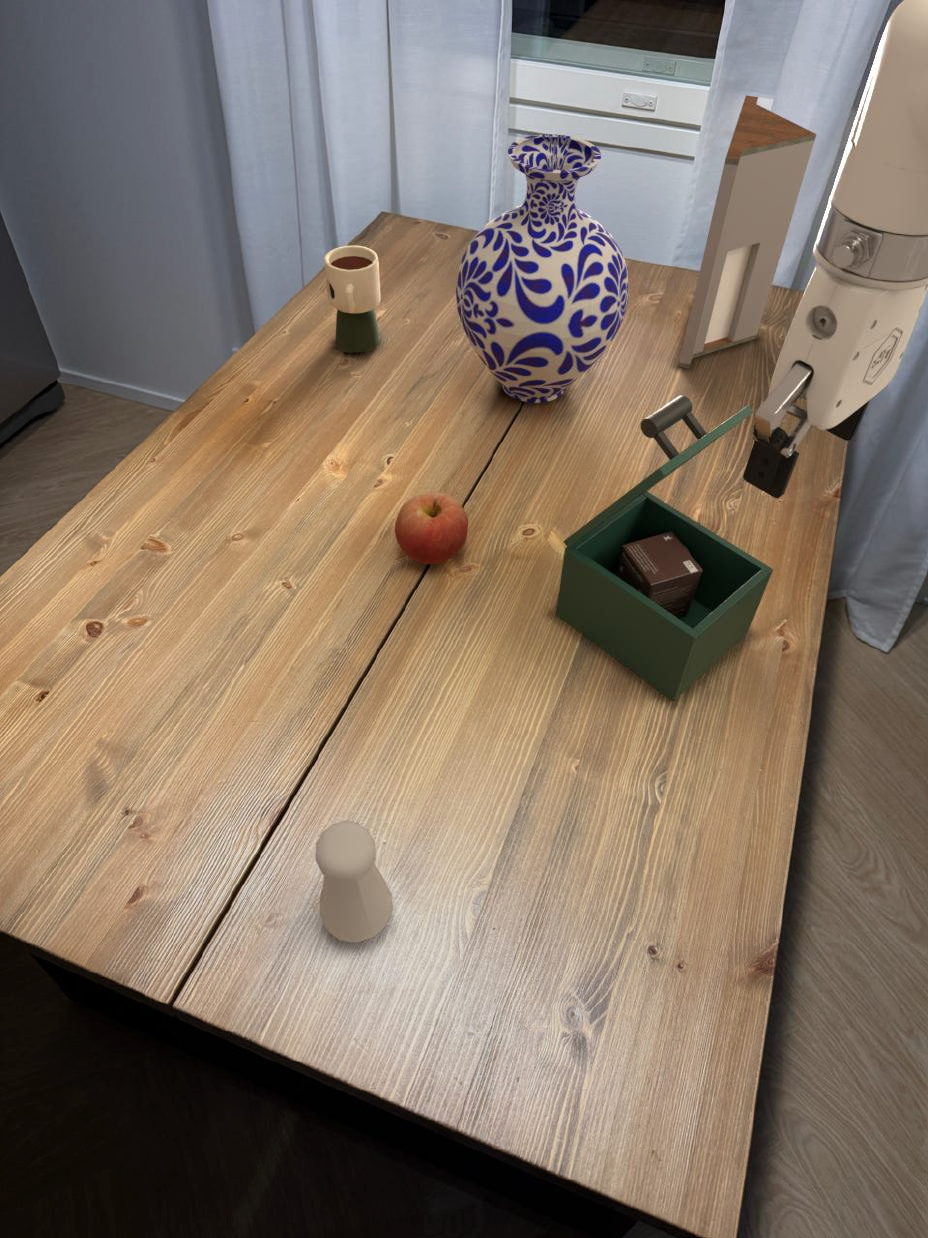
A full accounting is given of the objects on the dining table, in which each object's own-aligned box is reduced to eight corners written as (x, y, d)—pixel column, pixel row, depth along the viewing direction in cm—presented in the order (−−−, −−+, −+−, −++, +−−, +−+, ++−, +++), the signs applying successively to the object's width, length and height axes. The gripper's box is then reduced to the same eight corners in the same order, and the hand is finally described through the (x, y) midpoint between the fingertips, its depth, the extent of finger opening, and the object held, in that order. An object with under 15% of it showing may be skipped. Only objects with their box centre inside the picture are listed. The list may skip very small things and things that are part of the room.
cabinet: (699, 293, 138) (745, 95, 117) (762, 304, 136) (821, 105, 115) (678, 366, 125) (725, 157, 104) (747, 379, 123) (810, 169, 102)
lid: (753, 412, 78) (719, 365, 78) (664, 475, 72) (628, 425, 72) (648, 489, 92) (620, 451, 92) (567, 548, 86) (537, 506, 86)
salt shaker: (342, 873, 75) (327, 795, 65) (404, 897, 74) (398, 821, 64) (309, 937, 71) (288, 864, 61) (374, 964, 70) (363, 894, 60)
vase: (606, 441, 114) (647, 205, 91) (440, 420, 116) (440, 184, 93) (617, 349, 127) (655, 124, 105) (469, 332, 130) (475, 108, 107)
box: (610, 593, 95) (620, 543, 90) (659, 578, 97) (672, 529, 91) (637, 633, 92) (650, 585, 86) (688, 618, 93) (704, 569, 88)
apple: (482, 545, 101) (484, 491, 95) (442, 588, 96) (442, 534, 90) (424, 517, 104) (423, 464, 98) (383, 558, 99) (379, 504, 93)
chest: (747, 634, 93) (773, 569, 85) (673, 702, 87) (694, 638, 80) (630, 556, 100) (645, 490, 93) (555, 614, 94) (564, 548, 87)
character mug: (337, 323, 130) (328, 237, 121) (386, 325, 130) (381, 238, 121) (328, 366, 123) (319, 277, 114) (380, 367, 123) (374, 279, 114)
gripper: (866, 312, 49) (777, 538, 61) (1005, 214, 57) (900, 433, 69) (750, 261, 52) (689, 486, 65) (897, 176, 60) (816, 391, 73)
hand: (798, 458), depth 67 cm, fingers open, 9 cm apart
